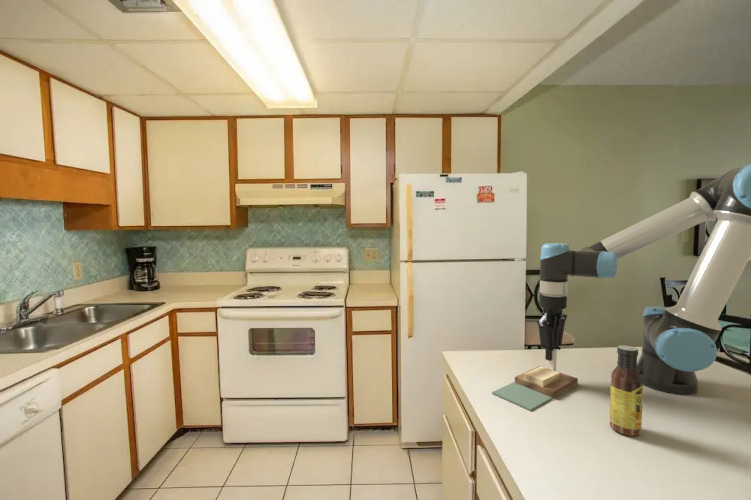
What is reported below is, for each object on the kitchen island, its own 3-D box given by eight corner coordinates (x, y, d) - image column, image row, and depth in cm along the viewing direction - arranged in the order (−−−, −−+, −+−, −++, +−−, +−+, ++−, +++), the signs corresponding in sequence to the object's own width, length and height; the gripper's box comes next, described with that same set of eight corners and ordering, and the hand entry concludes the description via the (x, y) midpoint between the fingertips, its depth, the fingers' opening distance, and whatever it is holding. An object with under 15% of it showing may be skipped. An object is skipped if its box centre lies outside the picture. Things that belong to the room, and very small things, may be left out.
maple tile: (559, 379, 109) (559, 372, 109) (543, 387, 104) (543, 380, 104) (540, 372, 114) (540, 366, 114) (524, 379, 109) (524, 373, 109)
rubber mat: (551, 399, 101) (552, 397, 101) (530, 411, 95) (530, 409, 95) (513, 383, 111) (513, 382, 111) (492, 393, 105) (492, 392, 105)
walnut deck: (577, 384, 109) (577, 378, 109) (552, 398, 101) (553, 391, 101) (539, 371, 119) (540, 365, 119) (514, 383, 111) (514, 377, 111)
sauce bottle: (642, 440, 82) (646, 355, 80) (609, 432, 85) (612, 350, 83) (639, 426, 87) (643, 346, 86) (608, 419, 91) (611, 341, 89)
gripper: (552, 289, 117) (550, 360, 119) (529, 294, 109) (527, 370, 111) (576, 293, 111) (573, 368, 113) (553, 299, 103) (550, 379, 105)
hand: (550, 369), depth 112 cm, fingers closed
